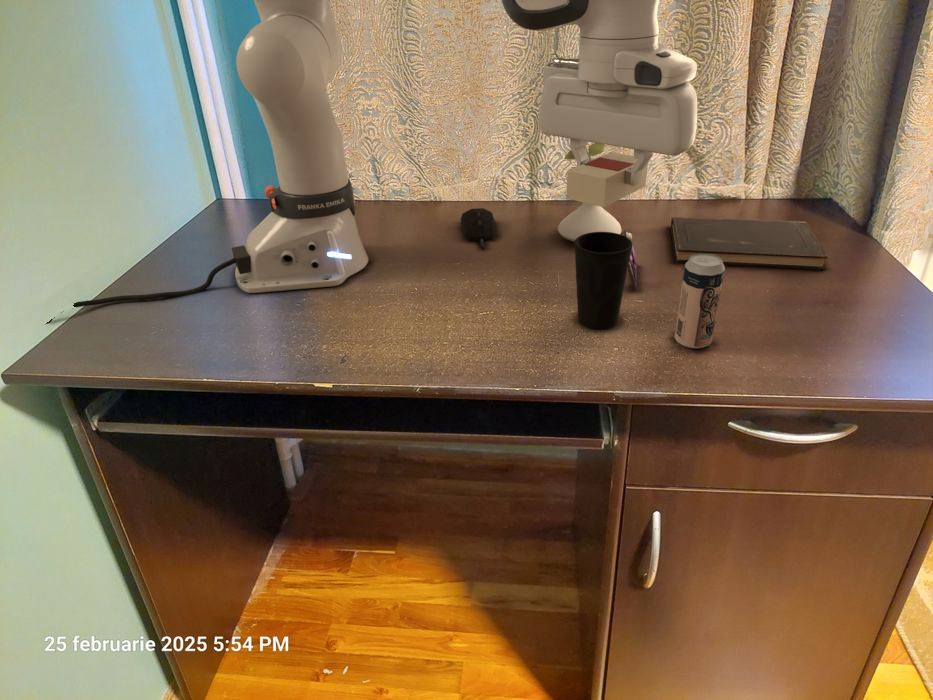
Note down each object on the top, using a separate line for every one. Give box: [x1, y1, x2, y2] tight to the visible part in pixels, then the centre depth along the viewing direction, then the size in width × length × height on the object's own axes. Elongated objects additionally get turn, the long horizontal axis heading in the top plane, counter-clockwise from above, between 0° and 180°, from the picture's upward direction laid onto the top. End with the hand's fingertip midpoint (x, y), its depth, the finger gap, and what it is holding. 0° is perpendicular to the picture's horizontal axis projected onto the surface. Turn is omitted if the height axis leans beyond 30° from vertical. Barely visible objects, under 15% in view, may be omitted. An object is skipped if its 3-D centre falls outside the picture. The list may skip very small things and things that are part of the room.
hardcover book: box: [670, 216, 828, 270], centre depth 115 cm, size 16×23×2 cm
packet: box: [565, 151, 649, 208], centre depth 85 cm, size 10×6×4 cm, turn 138°
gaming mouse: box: [460, 207, 496, 250], centre depth 124 cm, size 6×15×4 cm, turn 4°
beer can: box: [674, 253, 726, 350], centre depth 86 cm, size 5×5×12 cm
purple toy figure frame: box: [623, 229, 638, 291], centre depth 106 cm, size 7×5×9 cm
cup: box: [574, 232, 634, 331], centre depth 92 cm, size 8×8×12 cm
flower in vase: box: [557, 143, 622, 243], centre depth 115 cm, size 13×11×25 cm
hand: (608, 178), depth 85 cm, fingers closed on packet, 5 cm apart
